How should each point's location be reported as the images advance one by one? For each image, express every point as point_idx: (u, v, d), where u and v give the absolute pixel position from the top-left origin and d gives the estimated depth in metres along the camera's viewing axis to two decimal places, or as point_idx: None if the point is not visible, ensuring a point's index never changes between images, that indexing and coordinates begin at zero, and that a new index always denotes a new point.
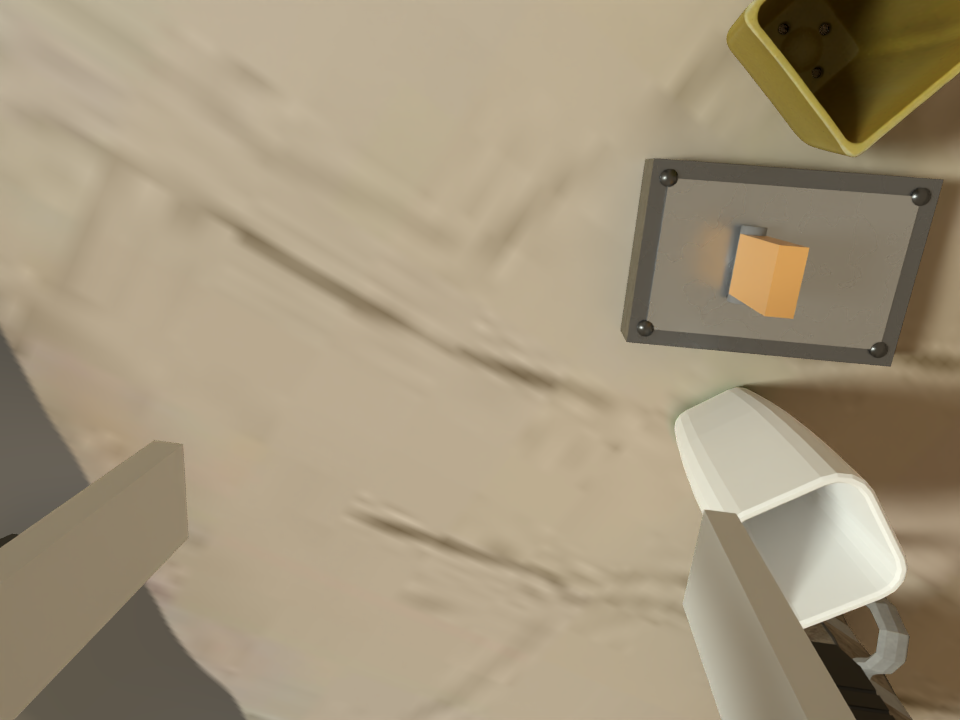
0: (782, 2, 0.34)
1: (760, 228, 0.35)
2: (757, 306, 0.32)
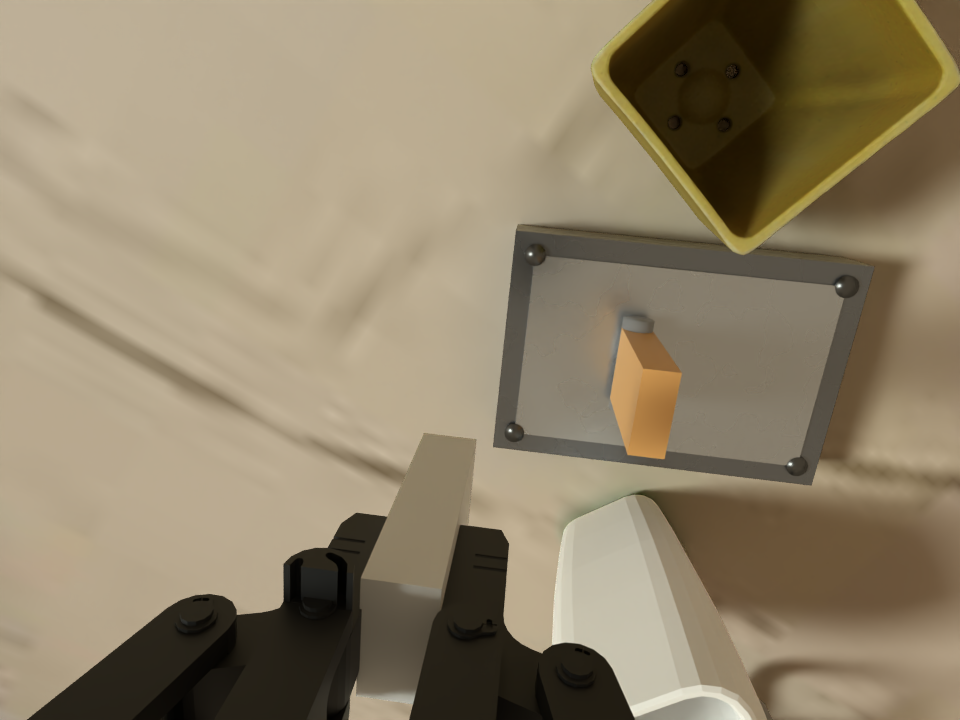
0: (675, 38, 0.27)
1: None
2: (624, 436, 0.25)
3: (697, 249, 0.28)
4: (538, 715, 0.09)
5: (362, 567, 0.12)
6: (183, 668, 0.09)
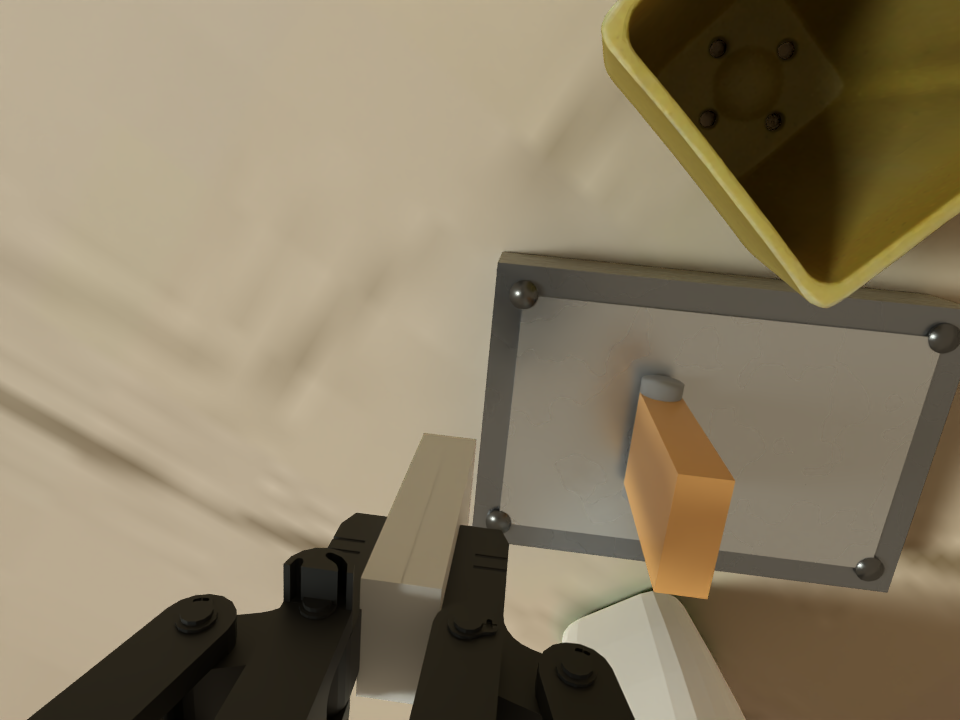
0: (712, 4, 0.20)
1: (670, 389, 0.20)
2: (648, 558, 0.17)
3: (741, 288, 0.21)
4: (538, 715, 0.09)
5: (362, 567, 0.12)
6: (183, 668, 0.09)
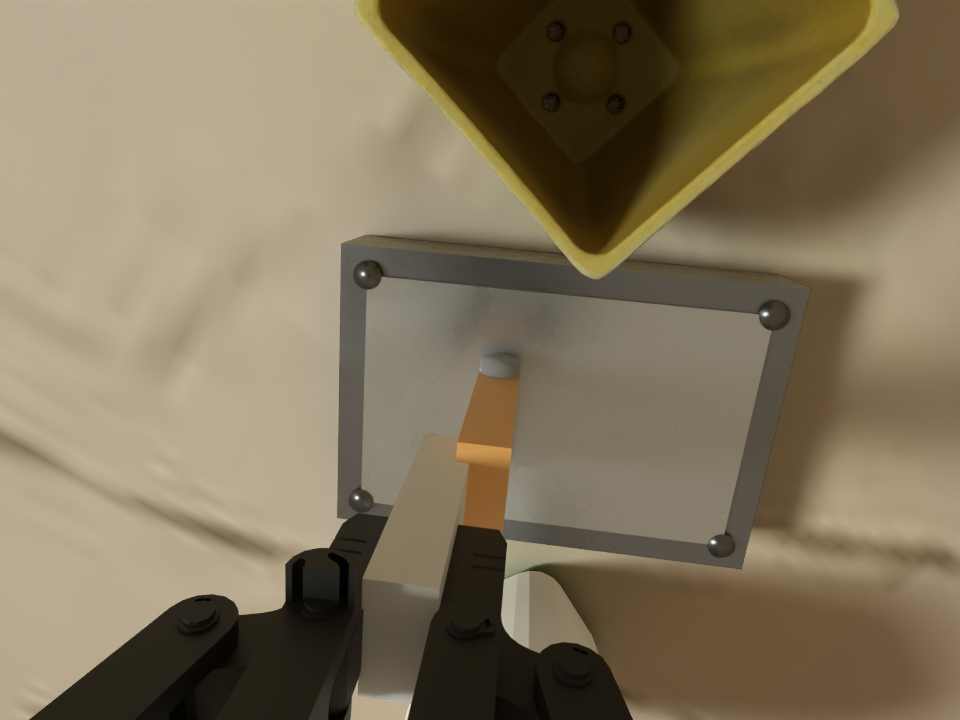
0: None
1: (504, 366, 0.21)
2: None
3: None
4: (534, 715, 0.09)
5: (363, 567, 0.12)
6: (185, 668, 0.09)
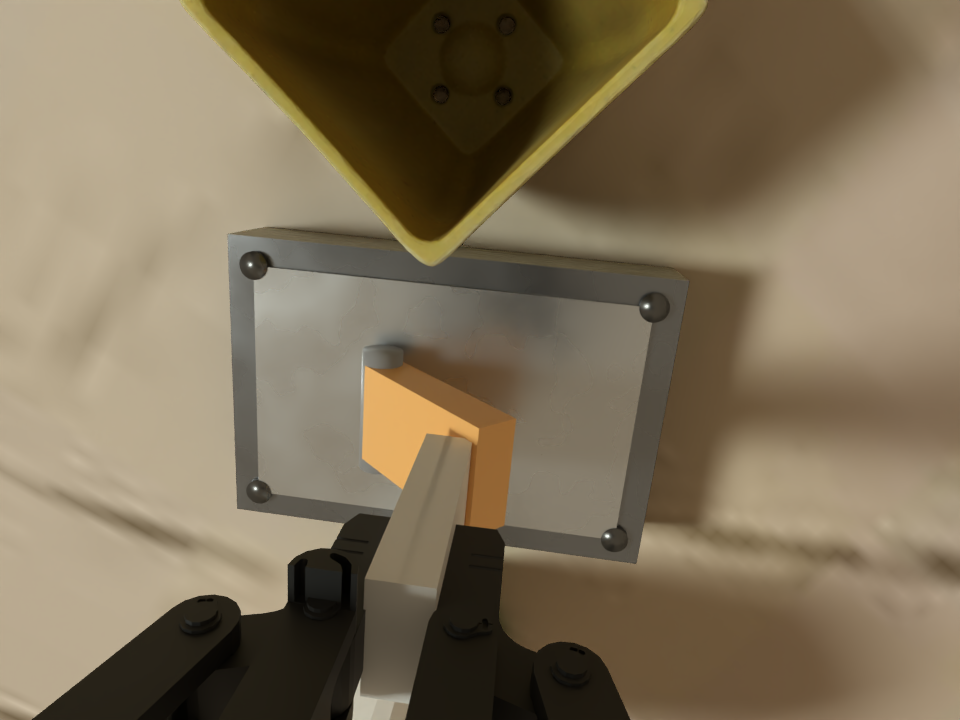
0: None
1: None
2: None
3: (458, 258, 0.21)
4: (532, 714, 0.09)
5: (365, 567, 0.12)
6: (187, 668, 0.09)
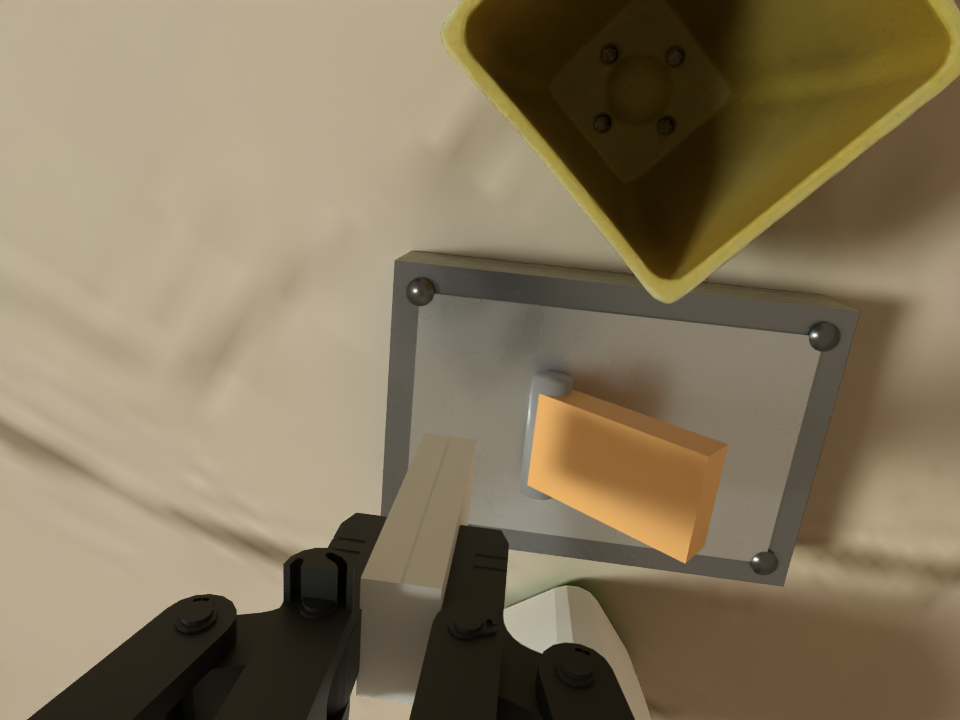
0: (597, 12, 0.21)
1: None
2: (651, 539, 0.19)
3: (629, 286, 0.21)
4: (538, 715, 0.09)
5: (362, 567, 0.12)
6: (183, 667, 0.09)
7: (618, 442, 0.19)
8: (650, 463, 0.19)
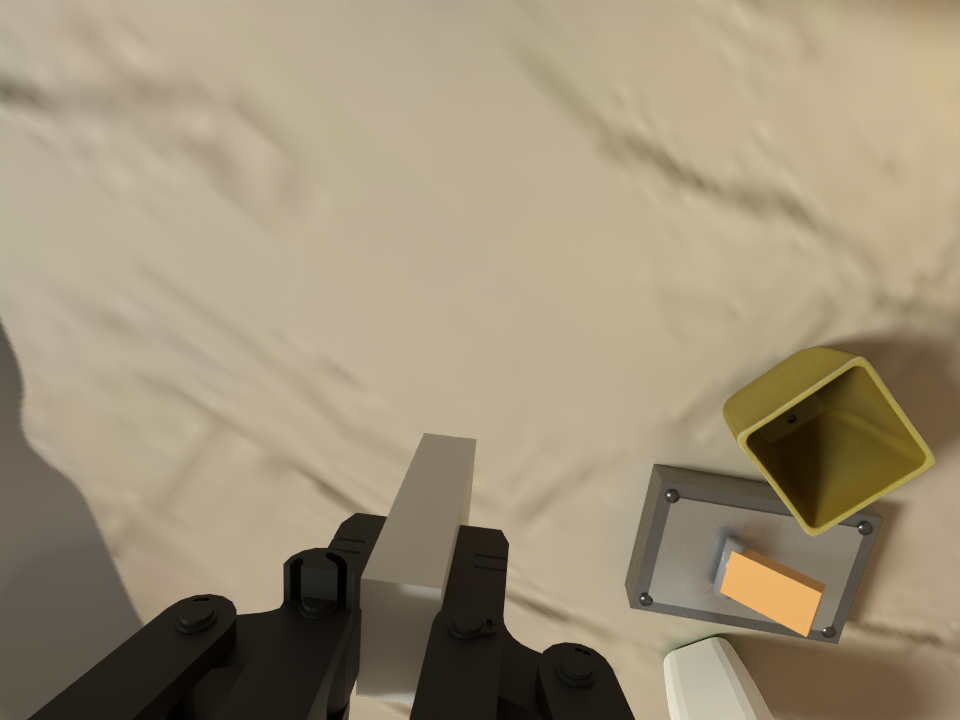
0: None
1: (745, 545, 0.45)
2: (789, 624, 0.42)
3: (774, 500, 0.45)
4: (537, 715, 0.09)
5: (362, 567, 0.12)
6: (183, 668, 0.09)
7: (775, 580, 0.43)
8: (791, 591, 0.42)
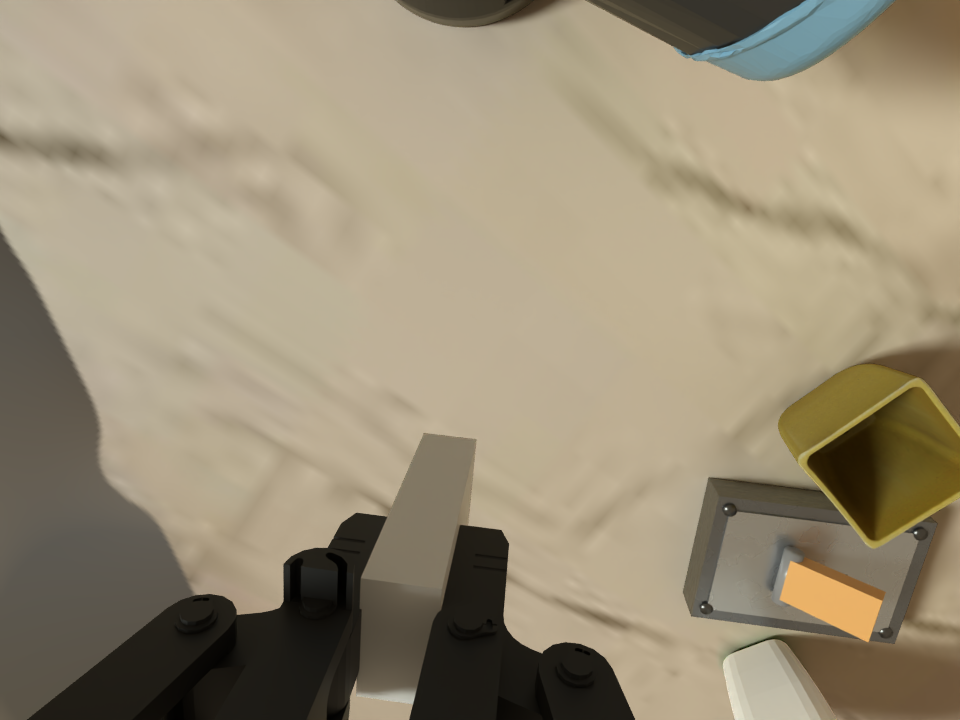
0: None
1: (803, 554, 0.46)
2: (850, 630, 0.44)
3: (830, 510, 0.46)
4: (538, 715, 0.09)
5: (362, 567, 0.12)
6: (183, 668, 0.09)
7: (835, 588, 0.44)
8: (852, 599, 0.44)
